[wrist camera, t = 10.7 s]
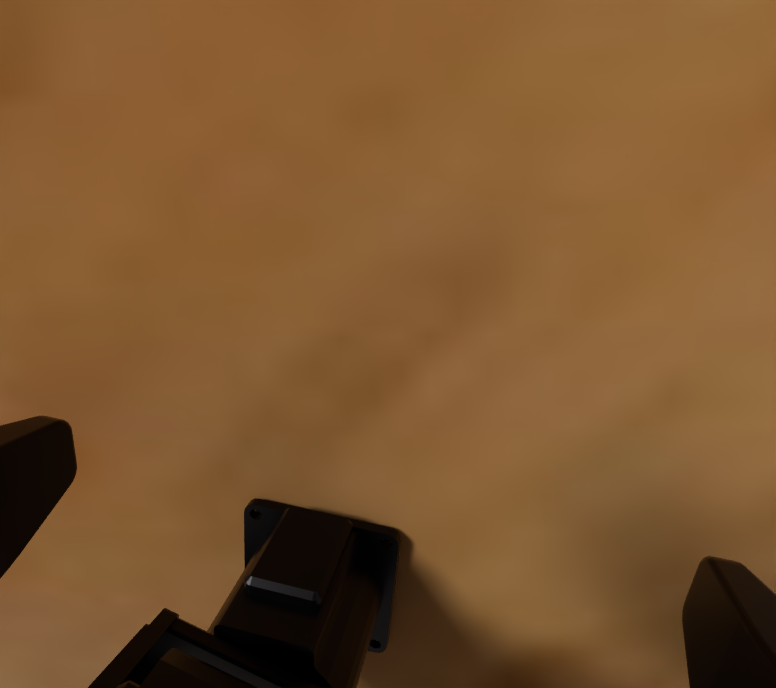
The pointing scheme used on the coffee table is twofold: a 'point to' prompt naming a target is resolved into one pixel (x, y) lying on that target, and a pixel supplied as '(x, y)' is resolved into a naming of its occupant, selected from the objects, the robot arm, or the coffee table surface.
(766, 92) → the coffee table surface
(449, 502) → the coffee table surface
